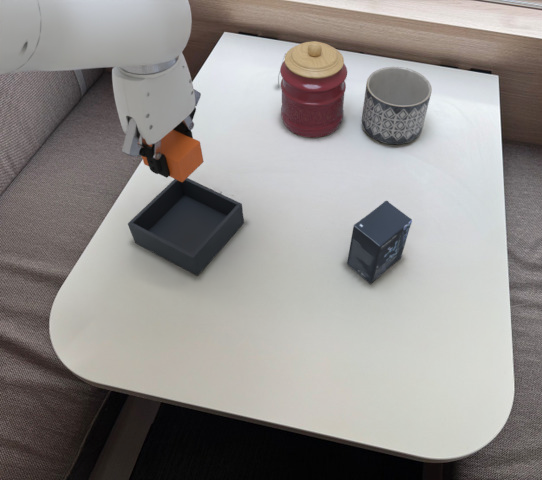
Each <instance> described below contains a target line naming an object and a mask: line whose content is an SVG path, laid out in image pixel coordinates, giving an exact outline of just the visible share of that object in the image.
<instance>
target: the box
mask: <svg viewBox="0 0 542 480" xmlns="http://www.w3.org/2000/svg"><path fill="white" fill-rule="evenodd" d="M412 222H413V219H412V218H410V216H408V215H406V214H405V213H404V212H402V211H401V210H400V209H398V208H397V207H396V206H394V205H393V204H392V203H390V201H388V200H384V201H383V202H382V203H381V204H379V205H378V206H377V207H376V208H375V209H373V210H372V211H370V213H368V214H366V215H365V216H364V217H363V218H361V219H360V220H359V221H357V222H356V223H355V224H353V227H352V233H351V239H350V244H349V250H348V254H347V255H348V256H347V261H346V265H347V266H348V267H349V268H351V269H352V270H353V271H354V272H355V273H357V275H359V276H360V277H361V278H362V279H363V280H364V281H366V282H367V283H368V284H372V283H374V282H375V281H376V280H377V279H379V277H381V276H382V275H383V274H384V273H385V272H387V271H388V270H389V269H390V268H391V267H393V265H395V264H396V263H397V262H399V261H400V260H401V259H402V256H403V253H404V248H405V246H406V242H407V239H408V236H409V232H410V229H411V226H412Z"/></svg>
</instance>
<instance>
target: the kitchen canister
mask: <svg viewBox="0 0 542 480" xmlns="http://www.w3.org/2000/svg"><path fill="white" fill-rule="evenodd" d="M285 53H286V55H285V57H284V60H283V63H282V62H281V65H280V67H279V68H280V70H279V72H280V76H281V78H282V79H281V81H280V89H281V105H280V106H281V107H280V116H281V119H282V122H283V124H284V126H285V127H286V128H287V130H289V131H290V132H291V133H293V134H294V135H298V136H299V137H303V138H304V137H305V138H310V139H311V138H313V139H315V138H322V137H326V136H329V135H331V134H333V133H335V132H336V131H337V130H339V128H340V126H341V124H342V121H343V118H344V113H345V112H344V102H345V93H346V89H347V85H346V82H345V81H346V79H347V77H348V68H347V66H346V63H345V60H344V56H343V54H342V53H341V51H339V50H338V49H336V48H335V47H333V46H331V45H329V44H327V43H325V42H321V41H316V40H314V41H306V42H302V43H299V44H297V45H294V46H293V47H291V48H290V49H288V50H287V51H286V52H285Z"/></svg>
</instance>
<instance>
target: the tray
mask: <svg viewBox="0 0 542 480" xmlns="http://www.w3.org/2000/svg"><path fill="white" fill-rule="evenodd" d="M244 223H245V220H244V210H243V203H242V202H239V201H237V200H235V199H233V198H231V197H229V196H227V195H224V194H222V193H220V192H219V191H216V190H214V189H211V188H210V187H207V186H206V185H203V184H201V183H199V182H197V181H195V180H193V179H191V178H189V177H187V178H186V179H185V180H184V181H183V182H180V181H178V180H176V179H174V178H173V180H172V181H170V183H169V184H168V185H167V186H165V187H164V188H163V189H162V190H161V191H160V192H159V193H158V194H157V195H156V196H155V197H154V198H153V199H151V201H149V203H147V204H146V205H145V206H144V207H143V208H142V209H141V210H140V211H138V213H137V214H136V215H135V216H134V217H133V218H132V219H130V221H128V223H127V226H128V229H129V231H130V234H131V236H132V239H133V241H134V243H135V244H136V245H139V246H140V247H142V248H144V249H146V250H148V251H149V252H152V253H154V254H155V255H157V256H159V257H161V258H162V259H164V260H167V261H169V263H173V264H174V265H176V266H178V267H180V268H182V269H183V270H185V271H187V272H188V273H191V274H193V275H195V276H196V277H198V276H199V275H200V274H201V273H202V272H203V271H204V270H205V268H206V267H208V265H209V264H210V263H211V262H212V260H213V259H215V257H216V256H217V255H218V254H219V252H220V251H221V250H222V249H223V248H224V247H225V245H227V243H228V242H229V241H230V240H231V238H233V236H234V235H235V234H236V233H237V232H238V231H239V229H240V228H241V227H242V226H243V225H244Z"/></svg>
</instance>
